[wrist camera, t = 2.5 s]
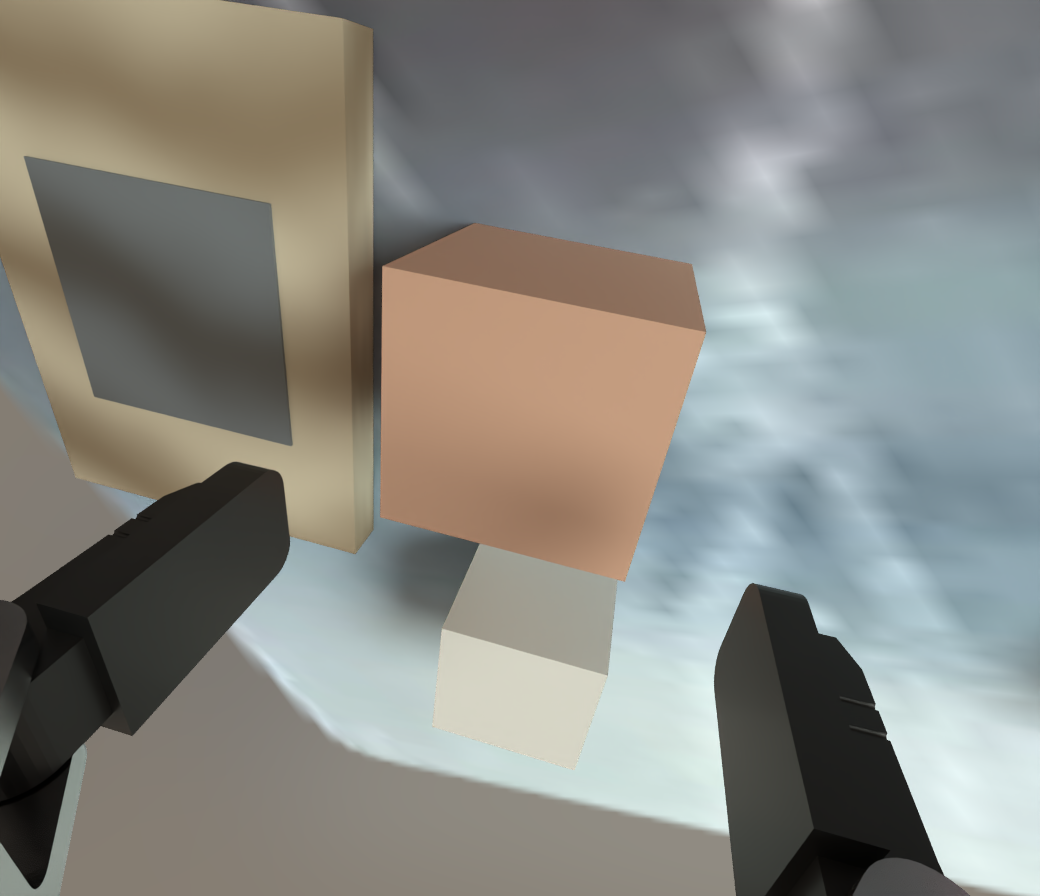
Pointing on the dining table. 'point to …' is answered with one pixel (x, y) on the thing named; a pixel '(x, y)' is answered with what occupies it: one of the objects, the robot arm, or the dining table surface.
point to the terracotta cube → (533, 391)
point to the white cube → (525, 655)
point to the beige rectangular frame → (196, 243)
